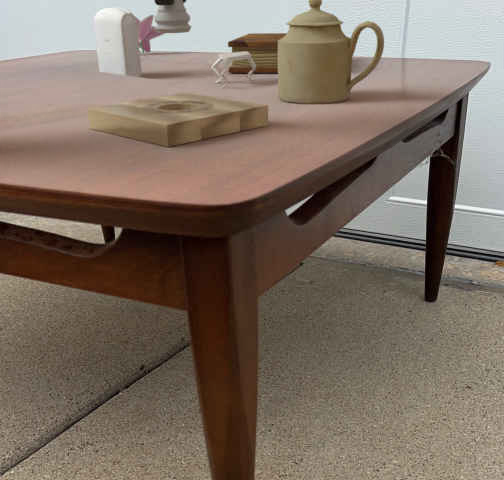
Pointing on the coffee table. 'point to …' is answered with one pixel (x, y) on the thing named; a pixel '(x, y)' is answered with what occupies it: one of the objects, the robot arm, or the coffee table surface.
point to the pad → (178, 118)
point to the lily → (146, 33)
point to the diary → (257, 52)
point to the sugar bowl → (320, 58)
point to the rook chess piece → (172, 18)
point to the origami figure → (233, 57)
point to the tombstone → (117, 42)
